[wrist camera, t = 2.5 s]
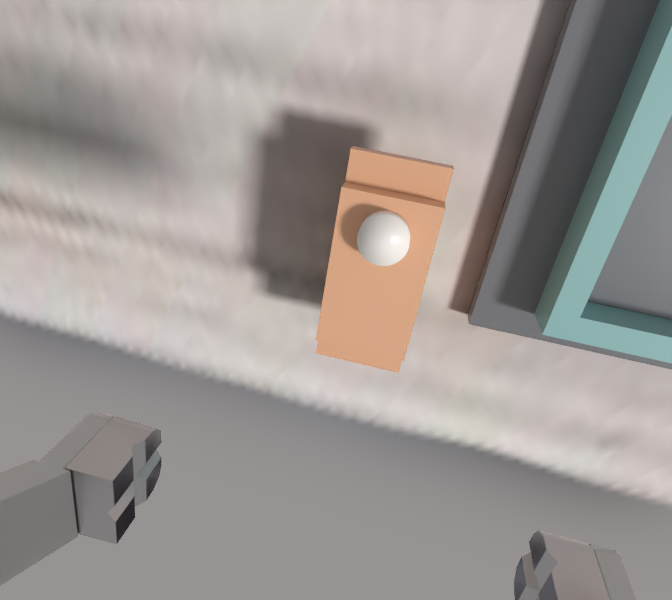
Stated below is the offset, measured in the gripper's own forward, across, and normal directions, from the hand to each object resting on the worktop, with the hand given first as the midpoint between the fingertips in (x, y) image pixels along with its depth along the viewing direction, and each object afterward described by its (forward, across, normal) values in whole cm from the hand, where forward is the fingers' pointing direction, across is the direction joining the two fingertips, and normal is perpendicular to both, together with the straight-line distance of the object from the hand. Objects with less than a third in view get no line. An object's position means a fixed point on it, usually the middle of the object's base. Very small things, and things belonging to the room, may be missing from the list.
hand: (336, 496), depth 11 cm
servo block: (+16, +1, 0) cm, 16 cm away
